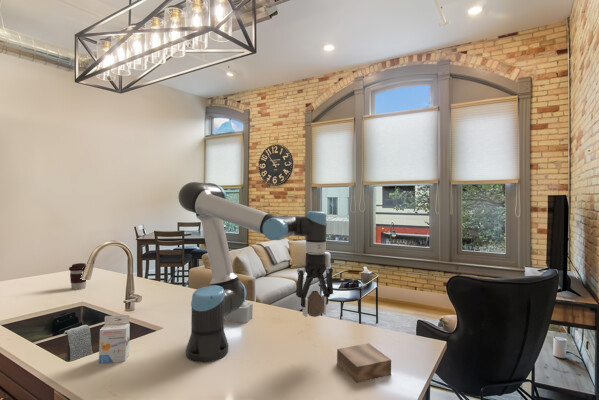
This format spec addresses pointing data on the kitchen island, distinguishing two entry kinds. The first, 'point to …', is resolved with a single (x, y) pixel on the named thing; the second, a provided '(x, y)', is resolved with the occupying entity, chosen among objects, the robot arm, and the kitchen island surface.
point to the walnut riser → (363, 362)
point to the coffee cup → (77, 276)
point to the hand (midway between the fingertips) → (314, 314)
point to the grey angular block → (241, 314)
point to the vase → (315, 304)
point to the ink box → (114, 339)
